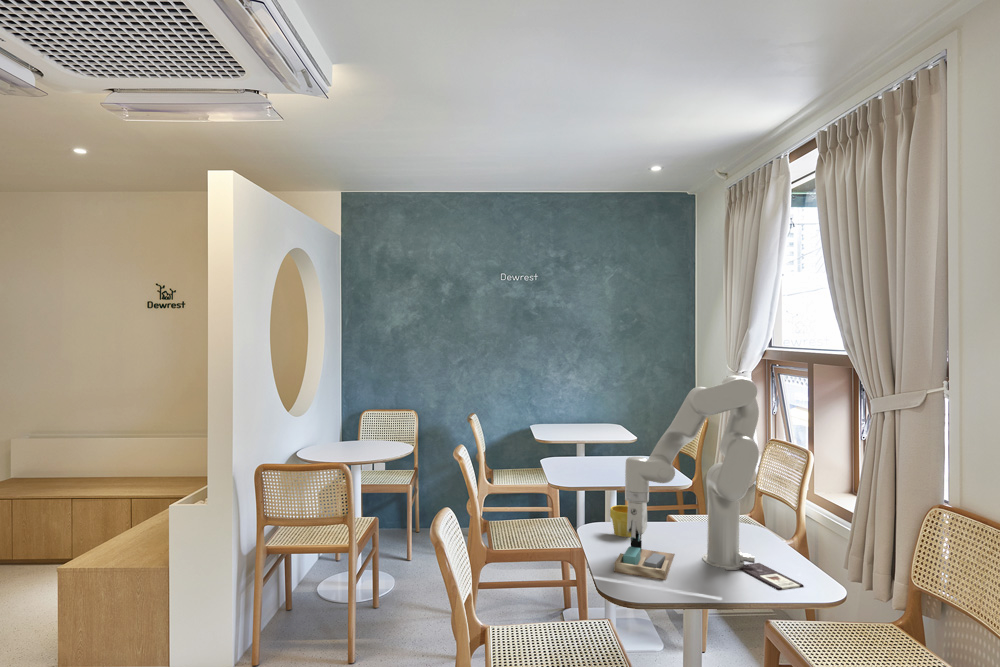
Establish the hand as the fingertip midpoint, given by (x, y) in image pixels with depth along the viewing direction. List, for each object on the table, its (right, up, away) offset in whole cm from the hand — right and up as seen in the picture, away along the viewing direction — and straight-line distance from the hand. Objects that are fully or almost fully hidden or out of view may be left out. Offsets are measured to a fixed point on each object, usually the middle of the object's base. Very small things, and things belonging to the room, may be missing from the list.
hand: (636, 552), depth 193 cm
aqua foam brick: (-3, -1, -6) cm, 7 cm away
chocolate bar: (+37, -3, -13) cm, 39 cm away
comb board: (+2, -2, -6) cm, 6 cm away
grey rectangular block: (+3, -1, -12) cm, 12 cm away
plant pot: (+1, -3, +23) cm, 23 cm away
